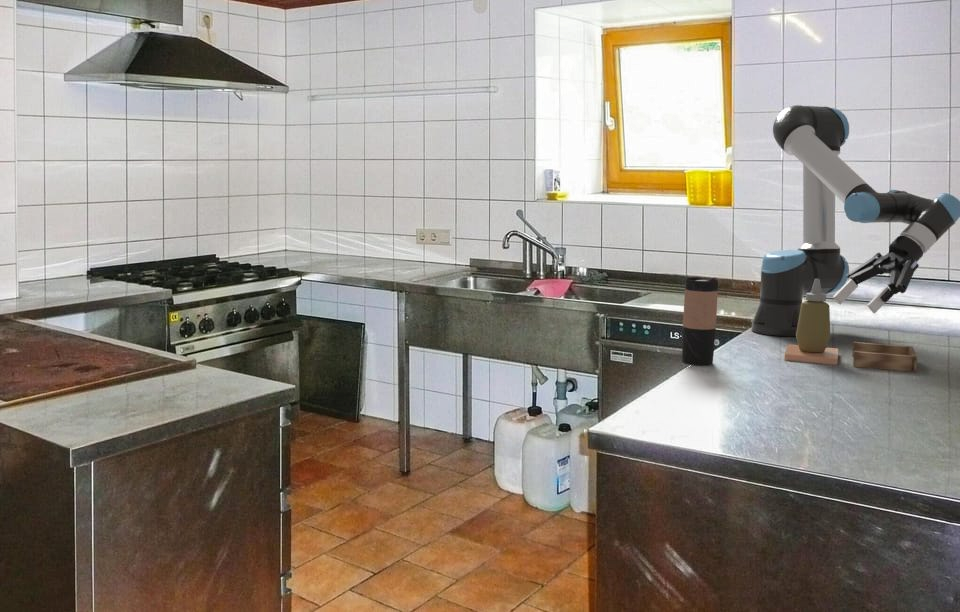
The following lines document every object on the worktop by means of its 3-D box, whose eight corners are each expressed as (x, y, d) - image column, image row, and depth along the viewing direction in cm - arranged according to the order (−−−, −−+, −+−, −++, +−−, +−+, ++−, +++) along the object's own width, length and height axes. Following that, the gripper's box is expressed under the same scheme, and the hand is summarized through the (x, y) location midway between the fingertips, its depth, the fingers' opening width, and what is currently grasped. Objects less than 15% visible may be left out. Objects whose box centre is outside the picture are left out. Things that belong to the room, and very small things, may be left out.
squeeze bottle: (801, 346, 229) (806, 276, 226) (833, 351, 224) (839, 279, 221) (789, 351, 222) (794, 278, 220) (822, 355, 217) (828, 281, 215)
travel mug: (690, 366, 209) (695, 281, 206) (675, 360, 216) (679, 277, 214) (720, 365, 211) (725, 280, 208) (703, 358, 218) (708, 277, 216)
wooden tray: (853, 366, 213) (854, 351, 212) (852, 355, 226) (853, 341, 226) (916, 371, 208) (917, 357, 207) (911, 360, 221) (912, 346, 221)
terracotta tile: (784, 360, 219) (784, 354, 219) (787, 350, 232) (788, 344, 231) (837, 364, 214) (837, 358, 214) (837, 354, 227) (838, 348, 227)
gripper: (956, 261, 214) (895, 324, 213) (886, 250, 238) (831, 307, 237) (939, 238, 212) (877, 302, 211) (871, 230, 236) (815, 287, 235)
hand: (853, 304), depth 224 cm, fingers open, 13 cm apart
